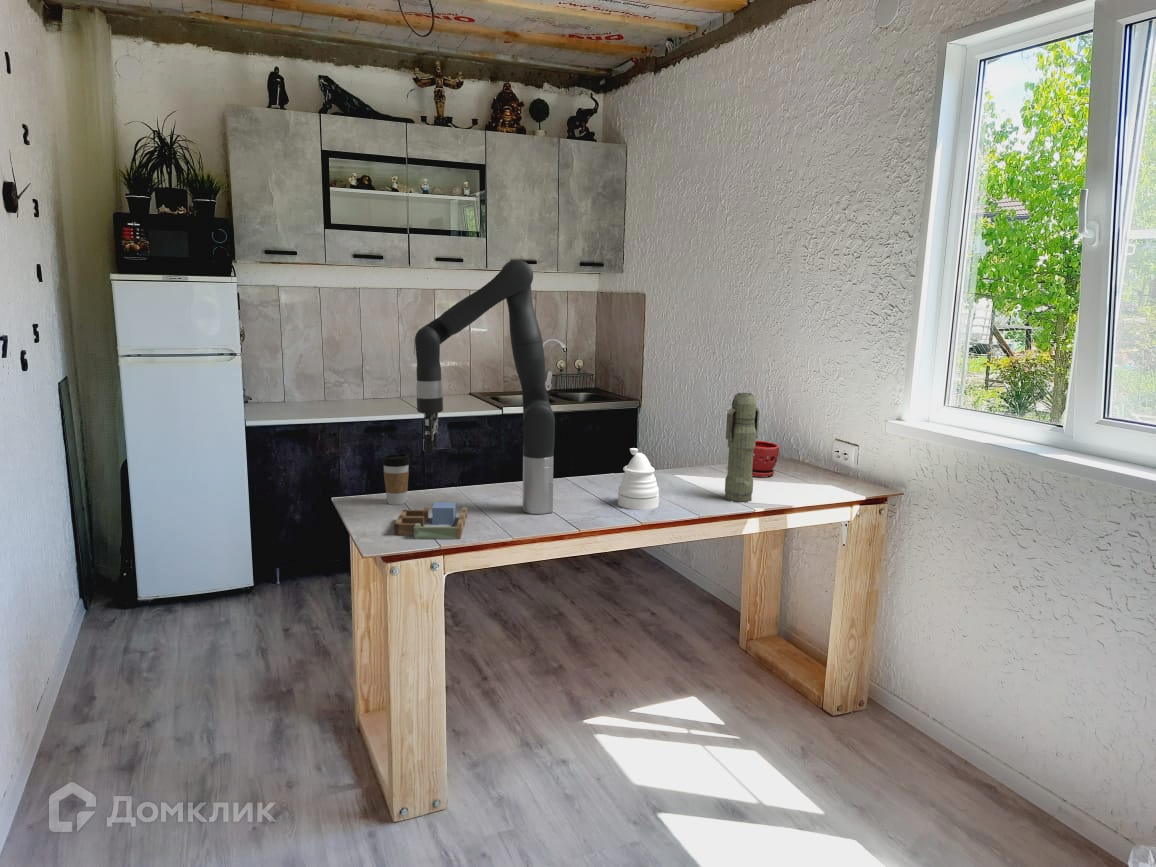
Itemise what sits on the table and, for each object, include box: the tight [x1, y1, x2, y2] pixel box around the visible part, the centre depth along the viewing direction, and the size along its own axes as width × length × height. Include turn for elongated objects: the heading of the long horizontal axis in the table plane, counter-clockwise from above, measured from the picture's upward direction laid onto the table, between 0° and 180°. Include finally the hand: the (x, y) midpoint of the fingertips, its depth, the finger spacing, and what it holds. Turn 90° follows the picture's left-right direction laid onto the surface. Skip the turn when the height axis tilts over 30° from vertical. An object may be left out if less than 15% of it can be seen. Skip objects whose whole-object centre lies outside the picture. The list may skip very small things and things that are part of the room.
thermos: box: [724, 392, 760, 503], centre depth 254 cm, size 9×12×35 cm
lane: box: [393, 506, 468, 540], centre depth 220 cm, size 20×18×3 cm
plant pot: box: [752, 440, 780, 478], centre depth 292 cm, size 13×13×12 cm
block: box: [431, 501, 457, 526], centre depth 226 cm, size 6×6×5 cm
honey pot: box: [617, 447, 660, 511], centre depth 247 cm, size 13×13×18 cm
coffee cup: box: [381, 453, 411, 506], centre depth 243 cm, size 8×8×15 cm
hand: (431, 450), depth 231 cm, fingers open, 8 cm apart
